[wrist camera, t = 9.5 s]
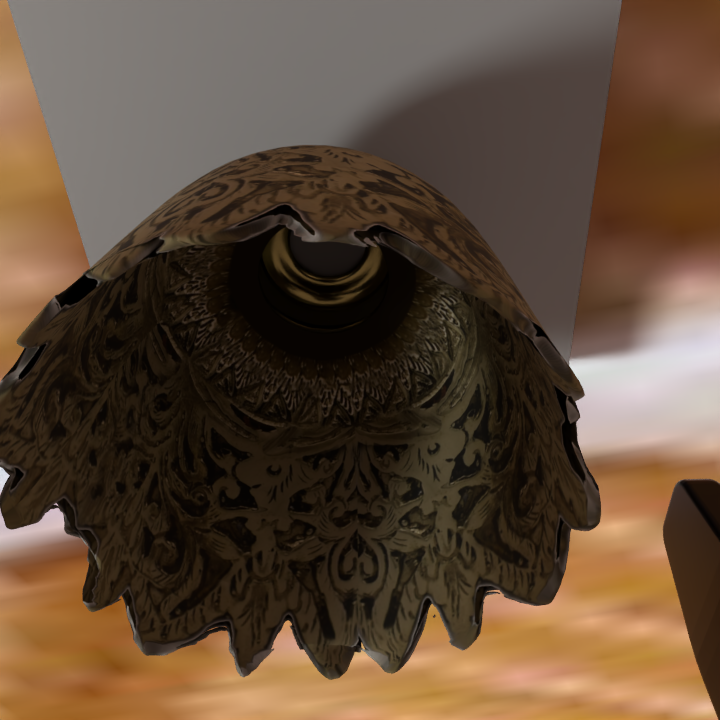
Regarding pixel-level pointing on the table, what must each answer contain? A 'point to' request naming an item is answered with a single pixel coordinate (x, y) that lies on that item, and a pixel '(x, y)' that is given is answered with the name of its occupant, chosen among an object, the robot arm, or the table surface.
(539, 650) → the table surface
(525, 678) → the table surface
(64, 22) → the plinth
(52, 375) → the ornate bronze lamp shade
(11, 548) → the table surface
